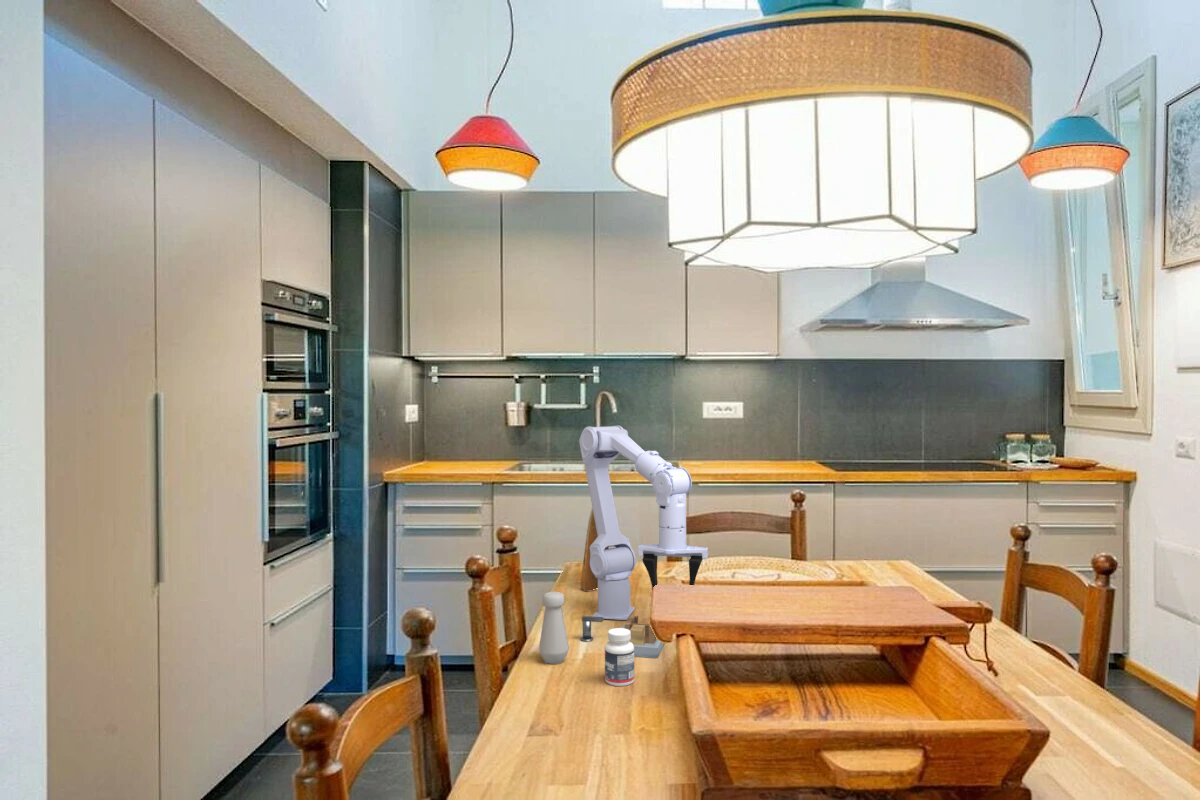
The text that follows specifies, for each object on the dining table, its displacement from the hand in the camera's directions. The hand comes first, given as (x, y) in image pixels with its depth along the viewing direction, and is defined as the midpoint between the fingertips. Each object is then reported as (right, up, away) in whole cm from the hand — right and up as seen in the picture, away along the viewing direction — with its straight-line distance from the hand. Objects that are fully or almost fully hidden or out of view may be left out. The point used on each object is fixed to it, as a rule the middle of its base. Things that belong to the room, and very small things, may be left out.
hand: (673, 590), depth 151 cm
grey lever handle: (-17, -10, -1) cm, 20 cm away
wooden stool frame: (-7, -9, -3) cm, 12 cm away
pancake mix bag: (-16, -10, +44) cm, 48 cm away
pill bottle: (-12, -10, -23) cm, 28 cm away
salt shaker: (-24, -10, -12) cm, 29 cm away
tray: (-7, -10, -4) cm, 13 cm away
